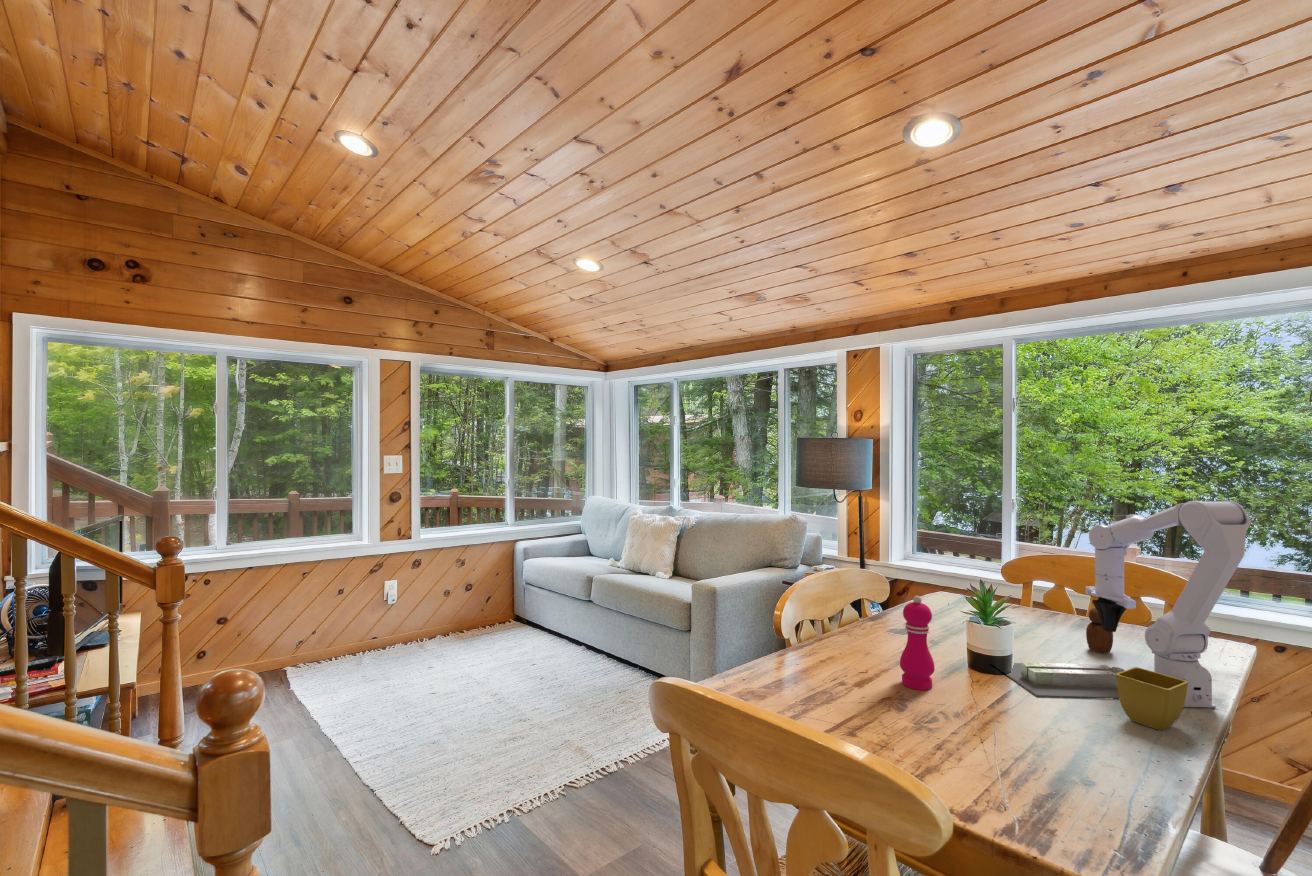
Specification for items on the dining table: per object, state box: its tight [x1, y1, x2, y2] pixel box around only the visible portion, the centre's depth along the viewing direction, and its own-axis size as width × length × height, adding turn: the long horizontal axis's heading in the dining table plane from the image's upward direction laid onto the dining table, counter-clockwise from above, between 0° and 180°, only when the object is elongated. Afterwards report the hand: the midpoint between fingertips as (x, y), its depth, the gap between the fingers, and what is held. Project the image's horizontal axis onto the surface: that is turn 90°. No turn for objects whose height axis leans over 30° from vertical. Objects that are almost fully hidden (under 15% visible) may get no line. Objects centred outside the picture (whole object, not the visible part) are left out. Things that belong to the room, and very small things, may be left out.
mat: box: [1006, 662, 1119, 700], centre depth 140 cm, size 20×27×1 cm
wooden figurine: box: [1085, 607, 1114, 654], centre depth 162 cm, size 7×6×15 cm
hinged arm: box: [1020, 661, 1125, 680], centre depth 139 cm, size 21×4×3 cm, turn 88°
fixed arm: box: [1028, 668, 1117, 688], centre depth 137 cm, size 18×2×3 cm, turn 88°
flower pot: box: [1116, 666, 1188, 731], centre depth 119 cm, size 9×9×9 cm
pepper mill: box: [899, 595, 935, 691], centre depth 137 cm, size 7×7×20 cm
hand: (1109, 631), depth 148 cm, fingers closed
